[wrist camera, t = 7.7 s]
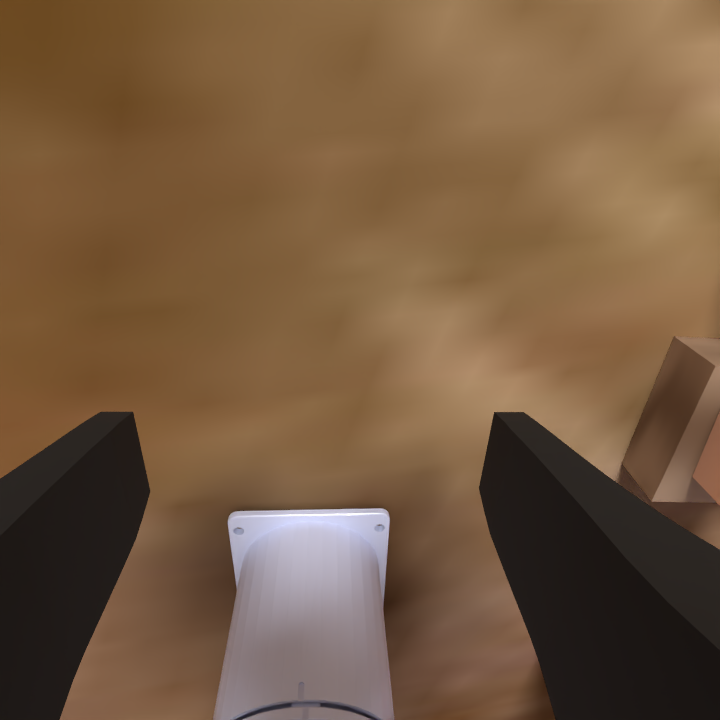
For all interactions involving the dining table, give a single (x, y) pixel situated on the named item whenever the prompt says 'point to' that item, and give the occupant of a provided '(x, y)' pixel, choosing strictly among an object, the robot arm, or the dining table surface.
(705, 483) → the peach block
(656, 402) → the wood slab
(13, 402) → the dining table surface
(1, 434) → the dining table surface
